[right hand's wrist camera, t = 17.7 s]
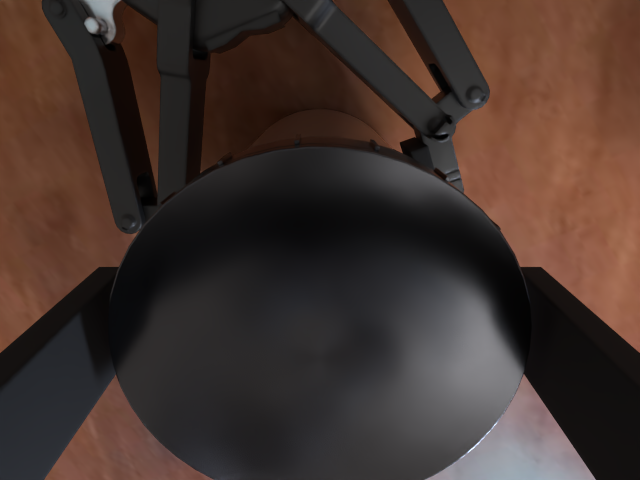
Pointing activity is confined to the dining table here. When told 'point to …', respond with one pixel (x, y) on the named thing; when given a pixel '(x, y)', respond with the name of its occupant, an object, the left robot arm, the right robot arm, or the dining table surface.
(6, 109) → the dining table surface
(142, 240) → the lid
